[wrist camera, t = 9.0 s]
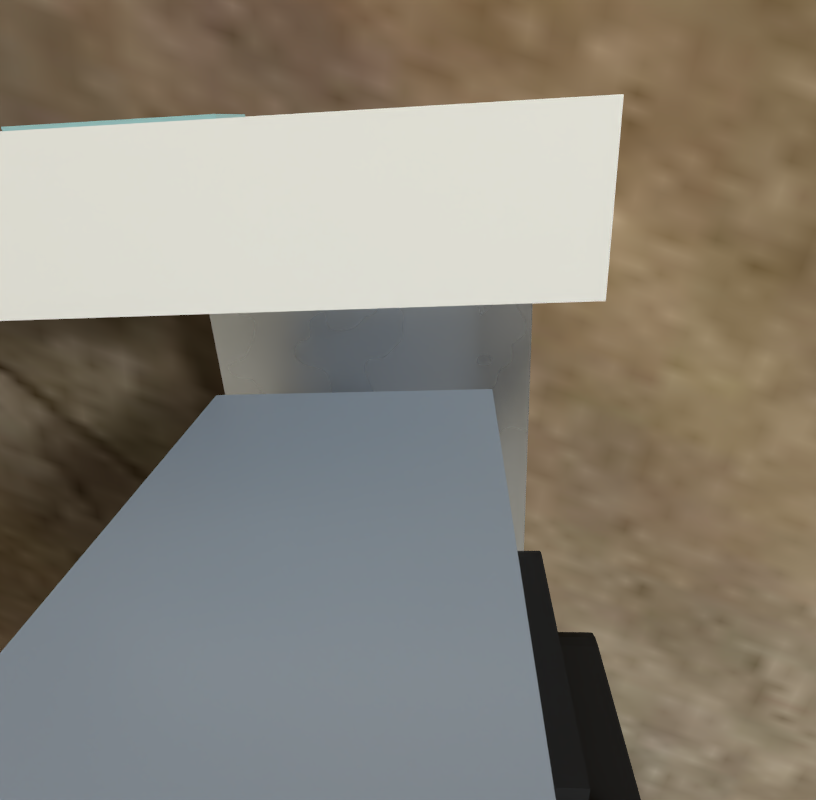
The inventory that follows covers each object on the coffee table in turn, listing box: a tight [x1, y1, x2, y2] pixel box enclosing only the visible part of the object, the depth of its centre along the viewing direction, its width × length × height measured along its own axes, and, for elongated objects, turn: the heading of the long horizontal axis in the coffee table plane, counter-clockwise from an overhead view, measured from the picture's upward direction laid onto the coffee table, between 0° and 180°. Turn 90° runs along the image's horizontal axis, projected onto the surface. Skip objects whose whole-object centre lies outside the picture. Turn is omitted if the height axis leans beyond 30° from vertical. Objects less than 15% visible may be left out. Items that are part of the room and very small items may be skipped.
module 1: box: [0, 94, 624, 321], centre depth 9 cm, size 2×7×6 cm, turn 93°
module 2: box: [0, 389, 556, 800], centre depth 9 cm, size 7×5×8 cm
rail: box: [209, 303, 532, 551], centre depth 15 cm, size 16×7×2 cm, turn 3°
